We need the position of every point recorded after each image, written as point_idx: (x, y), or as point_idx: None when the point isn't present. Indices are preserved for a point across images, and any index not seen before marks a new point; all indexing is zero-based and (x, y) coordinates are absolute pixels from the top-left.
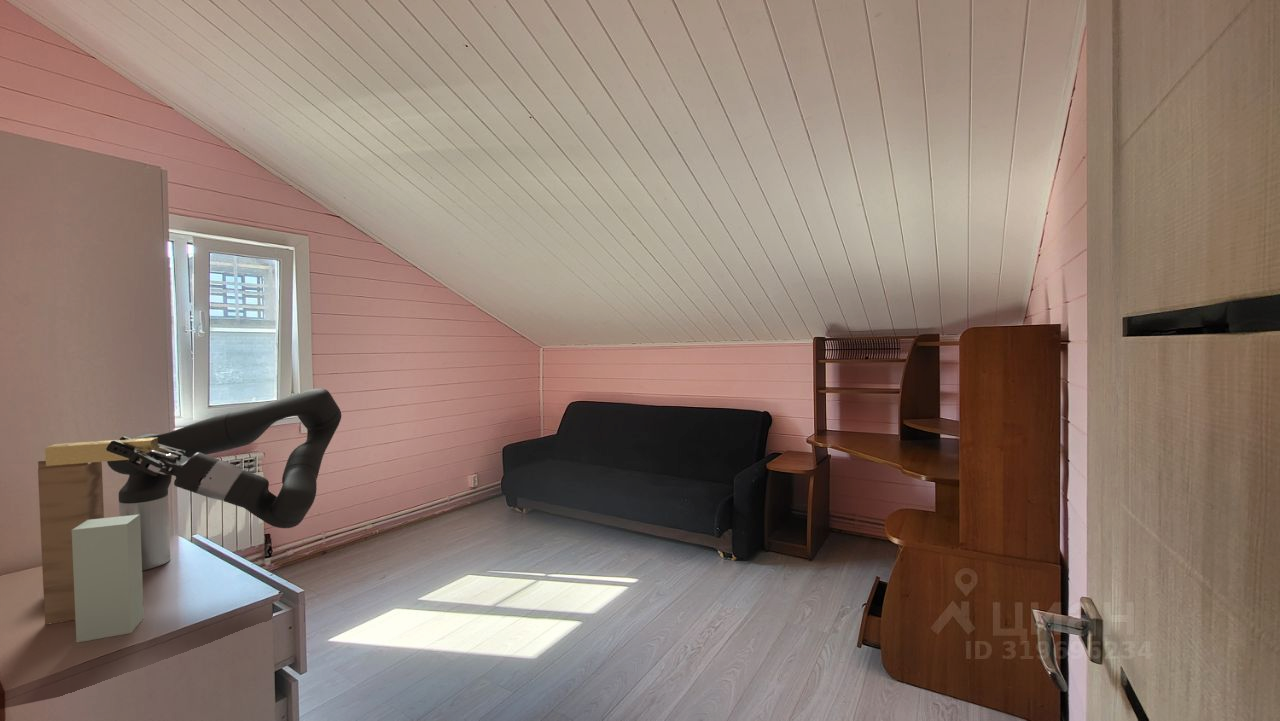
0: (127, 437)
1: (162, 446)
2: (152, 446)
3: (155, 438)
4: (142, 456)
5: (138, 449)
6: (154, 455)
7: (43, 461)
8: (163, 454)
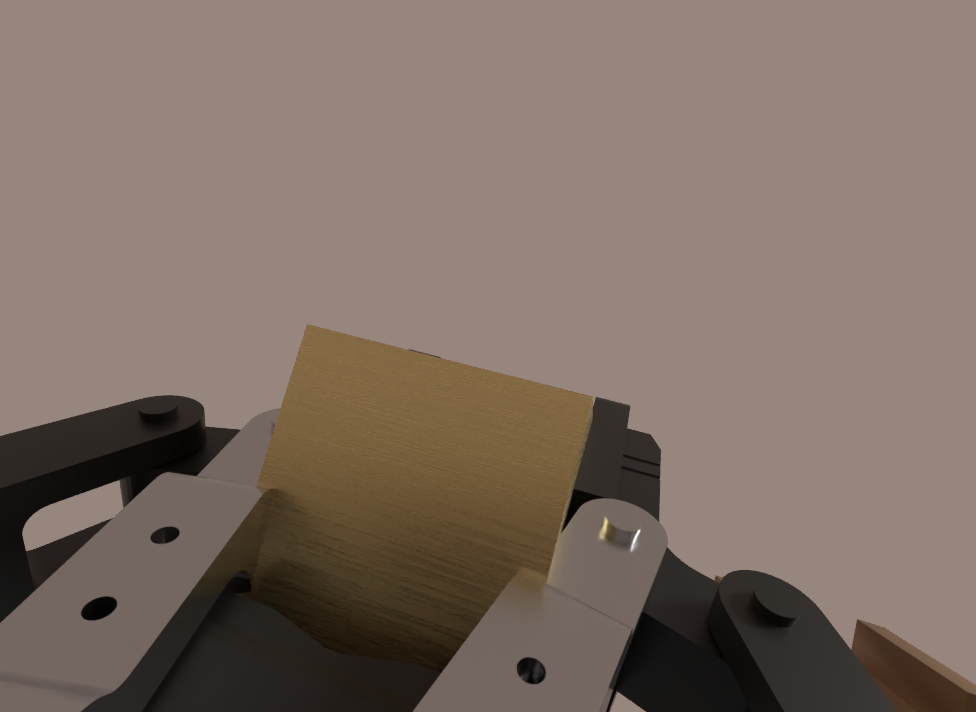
0: (621, 413)
1: (624, 636)
2: (325, 449)
3: (488, 373)
4: (15, 438)
5: (274, 427)
6: (333, 648)
7: (719, 581)
8: (47, 605)
